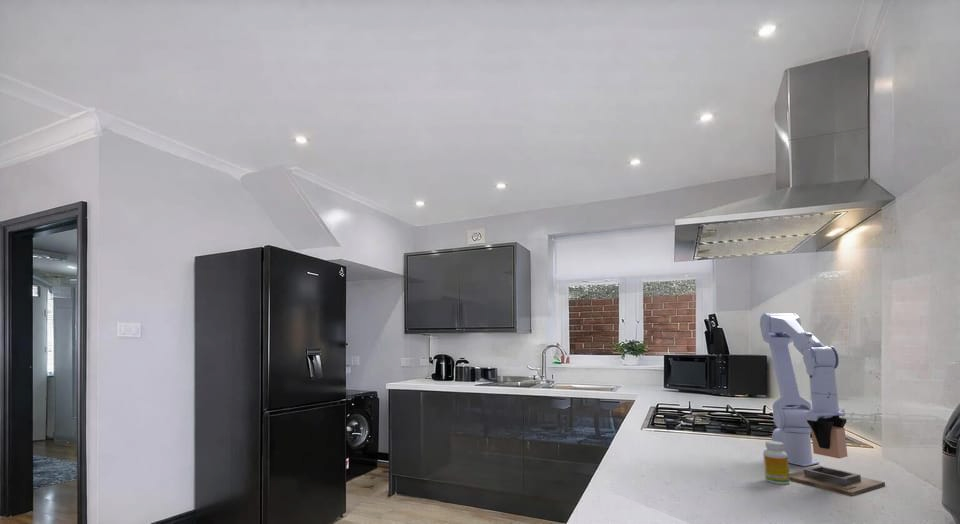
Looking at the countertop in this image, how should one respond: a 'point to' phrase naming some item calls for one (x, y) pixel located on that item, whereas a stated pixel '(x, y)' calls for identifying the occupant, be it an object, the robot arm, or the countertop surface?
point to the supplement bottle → (776, 463)
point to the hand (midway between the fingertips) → (829, 447)
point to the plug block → (832, 444)
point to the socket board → (835, 480)
